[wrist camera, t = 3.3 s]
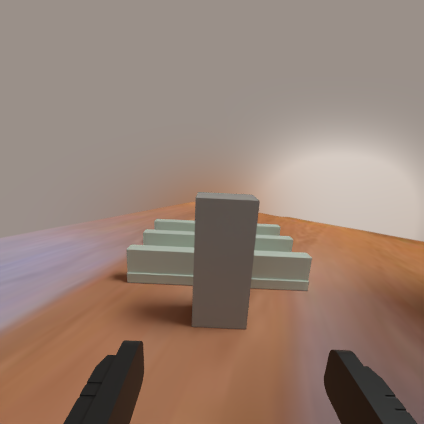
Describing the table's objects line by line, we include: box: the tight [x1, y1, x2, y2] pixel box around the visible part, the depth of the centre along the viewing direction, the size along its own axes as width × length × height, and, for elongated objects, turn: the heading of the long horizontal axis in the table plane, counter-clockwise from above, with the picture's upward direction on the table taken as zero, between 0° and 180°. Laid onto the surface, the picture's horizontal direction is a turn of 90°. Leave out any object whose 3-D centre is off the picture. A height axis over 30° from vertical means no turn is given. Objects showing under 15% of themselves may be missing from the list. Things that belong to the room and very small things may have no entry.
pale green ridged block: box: [127, 219, 312, 291], centre depth 32 cm, size 22×14×4 cm, turn 90°
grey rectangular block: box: [192, 192, 259, 329], centre depth 19 cm, size 5×3×12 cm, turn 90°
